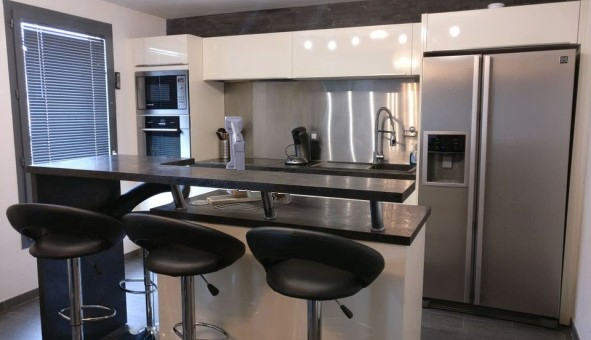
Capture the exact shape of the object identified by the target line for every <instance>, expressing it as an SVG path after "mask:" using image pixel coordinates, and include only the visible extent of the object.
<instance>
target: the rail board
mask: <svg viewBox="0 0 591 340" xmlns="http://www.w3.org/2000/svg"><path fill="white" fill-rule="evenodd" d="M206 201H207V202H208V203H209V204H210V205H220V204H230V203H231V204H232V203H234V204H235V203H243V202H254V201H262V200H261V197H254V198H251V197H249V196H248V194H247V197H239V198H234V195H231V194H221V195H212V196H211V195H210V196H209V197H206Z"/></svg>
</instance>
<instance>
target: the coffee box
mask: <svg viewBox="0 0 591 340" xmlns="http://www.w3.org/2000/svg"><path fill="white" fill-rule="evenodd" d="M273 172H280V173H291V174H292V172H291V171H283V170H281V171H280V170H275V171H273ZM271 194H272V195H271V197H273V201H274V203H273V204H286V205H287V204H290V203H291V200H292V199H291V197H292V194H291V195H290V194H278V193H272V192H271Z"/></svg>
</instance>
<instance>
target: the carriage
mask: <svg viewBox="0 0 591 340" xmlns="http://www.w3.org/2000/svg"><path fill="white" fill-rule="evenodd" d="M231 194H232V195H234V198H239V197H247V190H246V191H239V190H231ZM231 194H230V195H231Z"/></svg>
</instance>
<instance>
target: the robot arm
mask: <svg viewBox="0 0 591 340" xmlns="http://www.w3.org/2000/svg"><path fill="white" fill-rule="evenodd" d="M243 123H244V119H243V116H227V115H226V116H225V117H224V129H225V132H227V133H228V135H229V146H230V149H229V150H230V161H229V162H227V163H226V169H237V170H246V169H245V168H246V167H245V166H246V163H245V160H246V158H245V156H246V155H245V153H246V152H247V151H246V149H247V146H246V142H245V140H244V137H243V134H242V133H241V132H242V129H243V125H244V124H243ZM226 169H225V170H226ZM225 191H226V193H228V195H232V194H231V190H228V189H227V190H225Z"/></svg>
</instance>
